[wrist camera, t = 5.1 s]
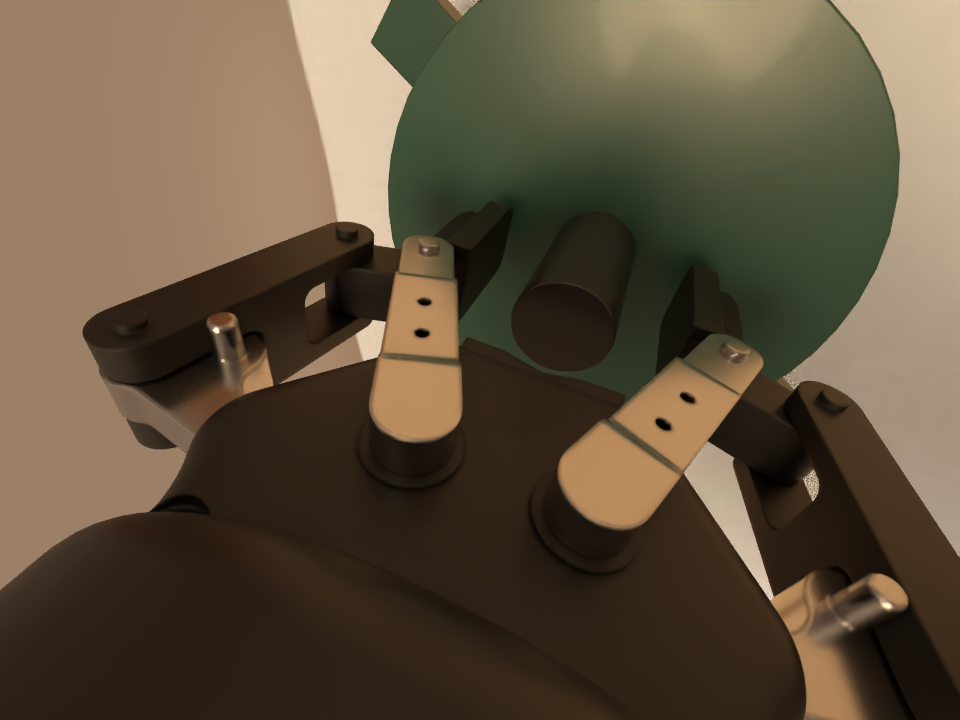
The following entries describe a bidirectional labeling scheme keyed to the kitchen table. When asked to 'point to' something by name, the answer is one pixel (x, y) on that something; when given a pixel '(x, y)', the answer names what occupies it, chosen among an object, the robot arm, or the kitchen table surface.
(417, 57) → the pan
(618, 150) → the lid
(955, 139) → the kitchen table surface
